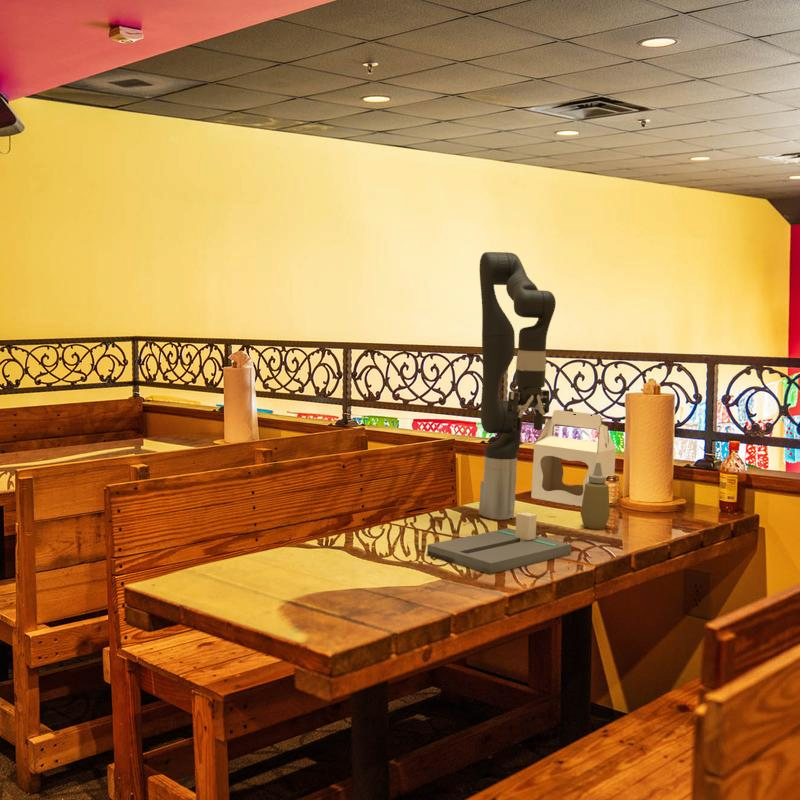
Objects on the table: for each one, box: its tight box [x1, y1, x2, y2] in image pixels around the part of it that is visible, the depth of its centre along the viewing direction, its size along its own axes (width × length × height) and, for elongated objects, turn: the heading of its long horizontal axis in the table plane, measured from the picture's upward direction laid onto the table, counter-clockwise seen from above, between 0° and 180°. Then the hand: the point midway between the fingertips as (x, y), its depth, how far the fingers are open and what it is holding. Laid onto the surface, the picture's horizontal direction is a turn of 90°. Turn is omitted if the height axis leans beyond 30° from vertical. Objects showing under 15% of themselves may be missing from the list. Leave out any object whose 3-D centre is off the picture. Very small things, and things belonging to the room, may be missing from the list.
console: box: [426, 527, 572, 575], centre depth 236 cm, size 20×30×3 cm, turn 134°
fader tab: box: [515, 511, 538, 542], centre depth 242 cm, size 4×3×7 cm
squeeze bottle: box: [580, 463, 611, 530], centre depth 269 cm, size 8×8×18 cm
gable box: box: [530, 409, 617, 508], centre depth 304 cm, size 22×13×28 cm, turn 53°
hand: (527, 430), depth 251 cm, fingers open, 8 cm apart
